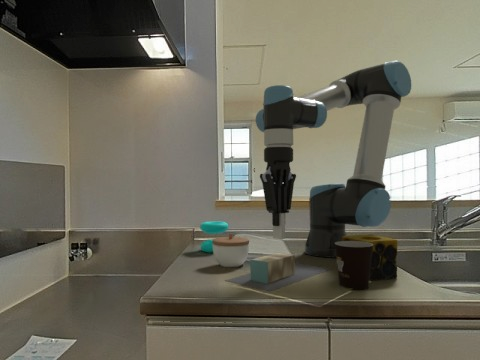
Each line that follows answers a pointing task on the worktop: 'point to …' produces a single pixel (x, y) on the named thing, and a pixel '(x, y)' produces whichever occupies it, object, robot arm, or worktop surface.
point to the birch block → (272, 267)
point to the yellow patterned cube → (380, 255)
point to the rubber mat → (300, 273)
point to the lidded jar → (230, 250)
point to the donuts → (212, 228)
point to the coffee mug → (354, 264)
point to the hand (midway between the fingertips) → (279, 238)
